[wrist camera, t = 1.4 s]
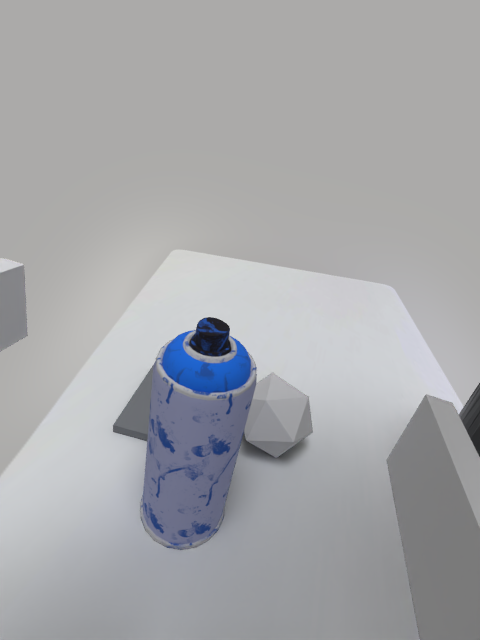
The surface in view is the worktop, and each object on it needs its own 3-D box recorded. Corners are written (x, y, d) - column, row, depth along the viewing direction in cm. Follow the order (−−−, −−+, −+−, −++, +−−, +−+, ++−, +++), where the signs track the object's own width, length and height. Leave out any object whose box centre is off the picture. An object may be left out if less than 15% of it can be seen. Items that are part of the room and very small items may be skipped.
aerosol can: (241, 515, 34) (294, 340, 24) (169, 570, 29) (200, 377, 19) (193, 457, 38) (222, 291, 29) (124, 495, 33) (131, 310, 24)
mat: (237, 390, 49) (238, 384, 49) (217, 460, 39) (219, 453, 38) (154, 368, 50) (154, 363, 49) (113, 431, 39) (113, 425, 39)
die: (315, 449, 43) (311, 369, 44) (309, 472, 35) (304, 373, 36) (250, 447, 46) (247, 371, 47) (230, 468, 37) (227, 375, 38)
